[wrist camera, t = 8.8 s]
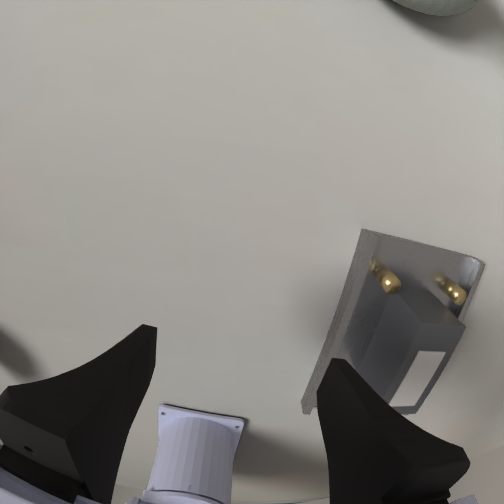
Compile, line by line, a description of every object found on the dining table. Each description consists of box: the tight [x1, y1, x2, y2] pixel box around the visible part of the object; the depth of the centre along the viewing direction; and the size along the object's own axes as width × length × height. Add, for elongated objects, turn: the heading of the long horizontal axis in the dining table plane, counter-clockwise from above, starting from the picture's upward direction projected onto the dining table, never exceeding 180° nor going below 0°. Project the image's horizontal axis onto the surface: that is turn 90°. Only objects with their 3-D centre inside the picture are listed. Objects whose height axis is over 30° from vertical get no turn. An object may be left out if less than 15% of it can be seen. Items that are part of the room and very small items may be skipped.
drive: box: [357, 289, 466, 414], centre depth 20 cm, size 8×4×5 cm, turn 169°
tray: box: [301, 229, 485, 415], centre depth 22 cm, size 16×11×3 cm
